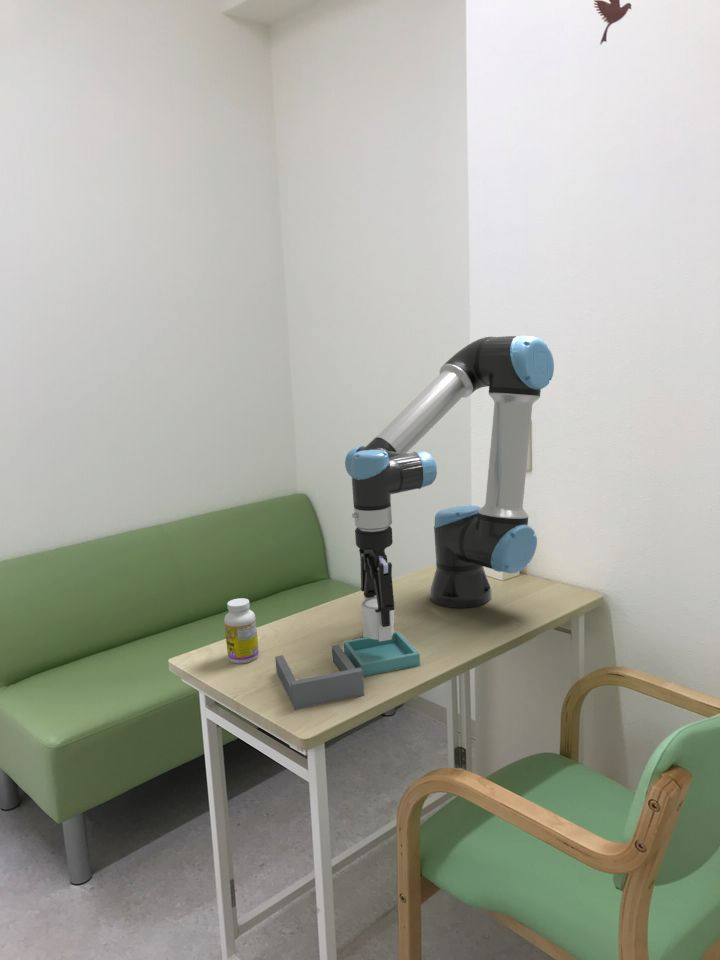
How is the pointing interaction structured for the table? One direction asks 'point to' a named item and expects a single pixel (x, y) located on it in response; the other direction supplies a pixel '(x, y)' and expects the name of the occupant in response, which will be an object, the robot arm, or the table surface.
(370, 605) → the shot glass
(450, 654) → the table surface
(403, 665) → the tray
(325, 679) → the bay
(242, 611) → the supplement bottle
